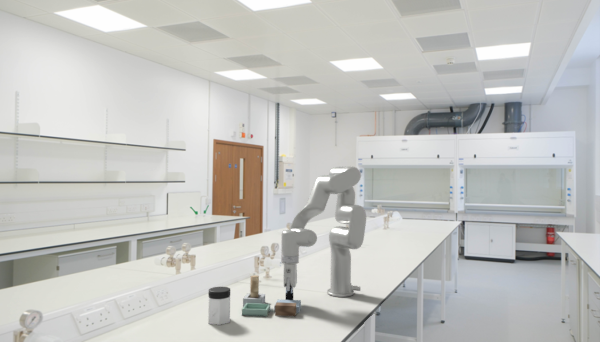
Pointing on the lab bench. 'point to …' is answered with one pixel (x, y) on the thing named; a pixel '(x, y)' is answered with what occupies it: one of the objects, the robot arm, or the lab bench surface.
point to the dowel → (254, 286)
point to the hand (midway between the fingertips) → (289, 301)
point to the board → (298, 302)
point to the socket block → (254, 299)
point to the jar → (219, 305)
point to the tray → (256, 309)
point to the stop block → (285, 309)
